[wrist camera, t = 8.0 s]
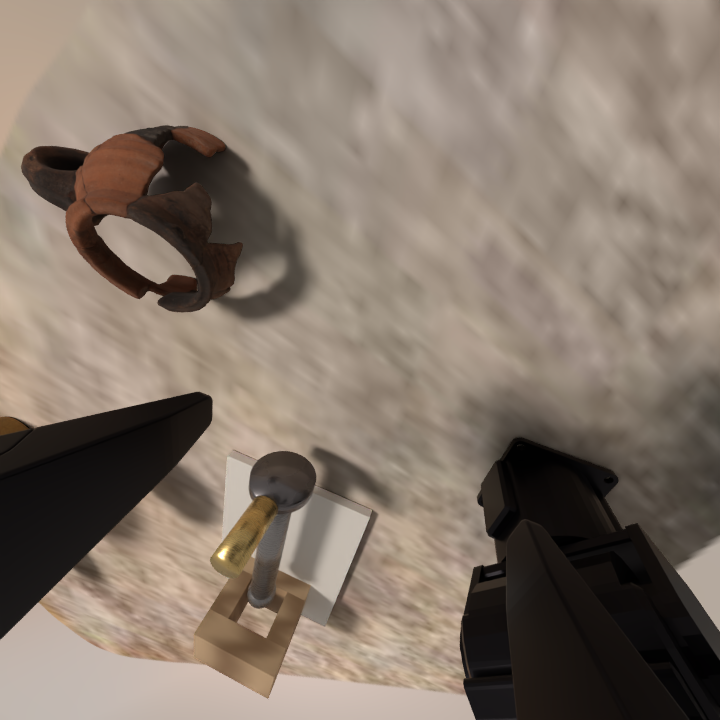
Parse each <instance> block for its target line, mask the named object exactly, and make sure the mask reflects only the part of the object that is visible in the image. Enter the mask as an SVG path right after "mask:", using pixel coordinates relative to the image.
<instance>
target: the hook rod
mask: <svg viewBox="0 0 720 720" xmlns="http://www.w3.org/2000/svg"><path fill="white" fill-rule="evenodd" d="M315 483H316V473H315V469H314V467H313V466H312V464H311V463H310V462H309V461H308V460H307V459H306V458H305V457H303V456H301V455H299V454H297V453H293V452H288V451H278V452H273V453H270V454H267V455H265V456H263V457H262V458H260V459H259V460H258V461H257V462H256V463H255V464H254V466H253V468H252V470H251V472H250V479H249V494H250V497H251V499H252V502H251V504H250V505H249V506H248V508H247V509H246V510H245V512H244V513H243V514H242V516H241V517H240V519H239V520H238V521H237V523H236V524H235V525H234V527H233V528H232V529H231V531H230V532H229V533H228V535H227V536H226V538H225V539H224V540H223V542H222V543H221V544H220V546H219V547H218V548H217V550H216V551H215V553H214V554H213V555H212V557H211V558H210V562H211V564H212V566H213V568H214V569H215V570H216V571H217V572H218V573H220V574H221V575H223V576H225V577H228V578H232V579H235V578H238V577H239V575H240V574H241V572H242V570H243V569H244V567H245V565H246V564H247V562H248V561H249V559H250V557H251V556H252V554H253V552H254V551H255V549H256V555H255V561H254V568H253V574H252V580H251V583H250V585H249V588H248V592H247V597H248V601H249V603H250V604H251V606H253V607H254V608H258V609H260V608H264V607H266V606H268V605H269V604H270V603H271V602H272V600H273V599H274V596H275V593H276V580H277V575H278V571H279V566H280V562H281V557H282V553H283V549H284V544H285V540H286V535H287V531H288V526H289V522H290V517H291V513H292V512H295V511H297V510H299V509H301V508H302V507H304V506H305V505H306V504H307V503H308V501H309V500H310V498H311V496H312V494H313V490H314V486H315Z"/></svg>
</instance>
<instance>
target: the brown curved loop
mask: <svg viewBox="0 0 720 720" xmlns="http://www.w3.org/2000/svg"><path fill="white" fill-rule="evenodd" d="M170 140H175V141H178V142H180V143H182V144H185V145H187V146H189V147H191V148H193V149H194V150H196V151H198V152H200V153H201V154H203V155H205V156H207V157H211V156H213V155H214V154H215V153H216V152H221V151H224V150H225V144H224V143H223V142H222V141H221V140H219V139H217V138H216V137H215V136H213V135H211V134H209V133H207V132H205V131H202V130H199V129H196V128H192V127H188V126H177V127H173V126H167V125H166V126H159V127H155V128H147V129H140V130H135V131H131V132H127V133H124V134H120V135H115V136H113V137H112V138H110V139H108V140H107V141H105V142H104V143H103V144H100V145H98V146H96V147H95V148H94V149H93V150H92V151H91V152H90V153H88V152H85V151H81V150H77V149H72V148H65V147H58V146H40V147H36V148H34V149H33V150H31V151H30V152H29V153H27V154H26V155H25V156H24V158H23V161H22V165H21V169H22V173H23V175H24V176H25V177H26V178H27V180H28V181H29V183H30V186H31V187H32V189H33V190H34V191H35V192H36V193H37V194H38V195H39V196H41V197H42V198H44V199H45V200H47V201H48V202H50V203H52V204H54V205H56V206H58V207H60V208H61V209H63V210H65V211H67V212H66V227H67V231H68V234H69V236H70V239H71V241H72V242H73V244H74V246H75V247H76V248H77V250H78V252H79V253H80V254H81V255H82V256H83V258H84V259H85V260H86V261H87V262H88V263H89V264H90V265H91V266H92V267H93V268H94V269H95V270H96V271H97V272H98V273H99V274H100V275H101V276H103V277H104V278H106V279H107V280H108V281H109V282H110V283H112V284H113V285H115V286H116V287H118V288H119V289H121V290H122V291H124V292H125V293H127V294H129V295H131V296H133V297H135V298H137V299H140V298H142V297H143V296H144V295H145V294H146V292H147V291H151V292H154V293H156V294H159V295H162V296H163V297H162V298H160V299H159V300H158V302H157V303H158V305H159V306H161V307H163V308H165V309H167V310H169V311H173V312H193V311H197V310H200V309H202V308H203V307H205V306H206V304H207V303H208V302H209V301H210V300H211V299H215V298H218V297H221V296H223V295H224V294H226V293H227V292H229V291H230V286H232V285H233V284H234V280H235V277H234V274H235V266H236V263H237V259H238V257H239V256H240V253H241V250H242V246H243V244H242V243H241V242H238V243H235V244H218V243H208V242H207V240H208V238H209V236H210V234H211V232H212V219H211V213H210V210H211V205H212V202H211V198H210V196H209V195H208V193H207V192H206V191H205V189H204V188H203V186H201V185H200V184H199V183H194V184H192V185H191V186H190V187H188V188H187V189H186V190H185V191H172V192H169V193H166V194H159V195H151V196H148V195H147V193H148V188H149V185H150V183H151V181H152V179H153V178H154V176H155V175H156V174H157V173H158V172H159V171H160V170H161V168H162V166H163V159H164V153H163V151H162V149H163V147H164V145H165V144H166V143H167V142H168V141H170ZM107 215H115V216H120V217H124V218H129V219H132V220H133V221H135V222H137V223H139V224H141V225H143V226H145V227H147V228H149V229H150V230H152V231H154V232H155V233H157V234H158V235H160V236H161V237H162V238H164V239H165V240H166V241H167V242H169V243H170V244H171V245H172V246H173V247H175V248H176V249H177V250H178V251H179V252H180V253H181V254H182V255H183V256H184V258H185V259H186V260H187V262H188V263H189V264H190V266H191V267H192V269H193V271H194V273H195V275H196V278H197V281H198V286H199V287H198V288H199V289H198V291H197V281H196V279H194V278H192V277H188V276H182V275H171V276H170V277H169V278H168V280H167V281H166V282H165V283H162V284H156V283H155V282H153V281H150V280H149V279H147V278H145V277H144V276H142V275H140V274H139V273H137V272H136V271H134V270H132V269H131V268H130V267H129V266H127V265H126V264H125V263H124V262H123V261H122V260H121V259H120V258H119V257H118V256H117V255H116V254H114V253H113V252H112V251H111V250H110V249H109V247H108V246H107V245H106V244H105V242H104V241H103V239H102V238H101V237H100V236H98V234H97V232H96V230H95V227H94V226H96V225H99V223H100V222H101V220H102V219H103V218H104V217H106V216H107Z"/></svg>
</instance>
